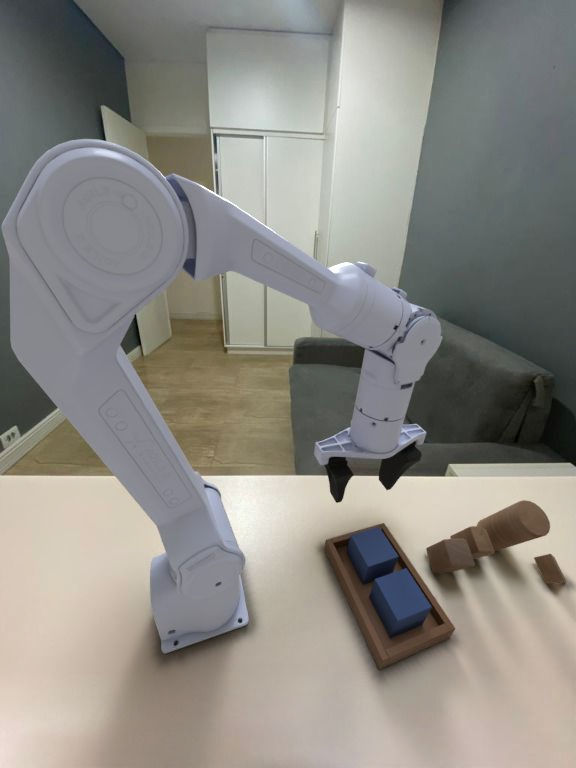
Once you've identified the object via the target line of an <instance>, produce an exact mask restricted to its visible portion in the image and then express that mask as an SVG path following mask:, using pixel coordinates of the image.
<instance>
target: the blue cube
mask: <svg viewBox="0 0 576 768" xmlns="http://www.w3.org/2000/svg"><path fill="white" fill-rule="evenodd" d="M369 598H370V600H371V602H372V604H373V606H374V608H375V610H376V612H377V614H378V616H379V618H380V620H381V622H382V624H383V626H384V627H385V629H386V631H387V633H388V635H389V637H390V638H392V637H395V636H397V635H399V634H402V633H404V632H407V631H409V630H411V629H414V628H416V627H418V626H421V625H423V623H424V621H425V619H426V617H427V615H428V613H429V611H430V609H431V608H432V607H431V605H430V604H429V602H428V600H427V599H426V597H425V596H424V594H423V593H422V591H421V590H420V588H419V587H418V585H417V584H416V582H415V581H414V579H413V578H412V576H411V574H410V573H409V571H408V570H407V568H405V569H402V570H399V571H397V572H394V573H391V574H388V575H385V576H382V577H379V578H377V579H375V580H374V583H373V586H372V589H371V592H370V595H369Z"/></svg>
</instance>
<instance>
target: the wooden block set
mask: <svg viewBox="0 0 576 768" xmlns="http://www.w3.org/2000/svg"><path fill="white" fill-rule="evenodd" d="M550 530H551V521H550V520H549V517H548V515H547V514H546V512H545V510H543V509H542V507H541V506H539V505H538V504H537V503H535V502H532V501H531V500H527V499H526V500H524V499H523V500H519V501H517V502H515V503H513V504H511V505H509V506H507V507H504V508H502V509H499V511H497V512H494V513H493V514H490V515H488V516H486V517H484V518H482V519H480V520H479V521H478V522H477V524H476V525H473V526H471V525H470V526H468V527H467V528H464V529H462V530H460V531H458V532H456V533H454V534H451V535H450V536H449V538H446V539H445V538H444V539H442V540H440V541H438V542H436V543H434V544H432V545H430V546H428V547H426V549H425V550H426V554H427V558H428V561H429V565H430V568H431V571H432V573H434V574H436V573H437V574H438V573H453V572H454V573H455V572H458V571H462V570H465V569H468V568H473V567H475V565H476V563H475V560H476V559H480V558H484V557H487V556H490V555H493V554H495V551H501V550H503V549H508V548H510V547H513V546H517V545H521V544H523V543H526V542H530V541H533V540H536V539H539V538H542V537H545V536H547V535H548V534H549V533H550ZM474 559H475V560H474ZM533 559H534V562H535V564H536V566H537V568H538V570H539V573H540V574H541V577H542V579H543V581H544V584H564V583H567V580H566V578H565V576H564V573H563V571H562V569H561V567H560V566H559V563H558V561H557V559H556V557H555V556H554V555H553V554H552V553H547V554H543V555H538V556H534V557H533Z"/></svg>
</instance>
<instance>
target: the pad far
mask: <svg viewBox="0 0 576 768" xmlns="http://www.w3.org/2000/svg"><path fill="white" fill-rule="evenodd" d="M347 555H348V557H349V559H350V561H351V563H352V565H353V567H354V568H355V570H356V572H357V574H358V576H359V578H360V580H361V582H362V584H363V585H364V584H366V583H369V582H372V581H374V580H375V579H377V578H379V577H382V576H385V575H388V574H391V573H393V571H394V568H395V565H396V563H397V560H398V557H399V556H398V555H397V553H396V552H395V550H394V549H393V547H392V546H391V544H390V543H389V541H388V539H387V538H386V536H385V535H384V533H383V532H382V530H381V529H380V527H376V528H373V529H369V530H366V531H363V532H359V533H356V534H352V535H351V536H350V540H349V544H348V548H347Z"/></svg>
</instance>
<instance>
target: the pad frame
mask: <svg viewBox="0 0 576 768" xmlns="http://www.w3.org/2000/svg"><path fill="white" fill-rule="evenodd" d="M376 527H380V529H381V530H382V532H383V533H384V535H385V536H386V538H387V539H388V541H389V543H390V544H391V546H392V547H393V549H394V550H395V552H396V553H397V555H398V556H399V557H398V560H397V563H396V565H395V568H394V571H393V573H394V572H397V571H399V570H402V569H405V568H407V570H408V571H409V573H410V574H411V576H412V578H413V579H414V581H415V582H416V584H417V585H418V587H419V588H420V590H421V591H422V593H423V594H424V596H425V597H426V599H427V600H428V602H429V604H430V605H431V607H432V608H431V609H430V611H429V613H428V615H427V617H426V619H425V621H424V623H423V625H421V626H418V627H416V628H414V629H411V630H409V631H407V632H404V633H402V634H399V635H397V636H395V637H392V638H390V637H389V635H388V633H387V631H386V629H385V627H384V626H383V624H382V622H381V620H380V618H379V616H378V614H377V612H376V610H375V608H374V606H373V604H372V602H371V600H370V598H369V595H370V592H371V589H372V586H373V583H374V581H372V582H369V583H366V584H364V585H363V584H362V582H361V580H360V578H359V576H358V574H357V572H356V570H355V568H354V567H353V565H352V563H351V561H350V559H349V557H348V555H347V548H348V544H349V540H350V536H351V535H352V534H356V533H359V532H363V531H366V530H369V529H373V528H376ZM323 548H324V551H325V554H326V555H327V558H328V560H329V563H330V565H331V567H332V569H333V571H334V574H335V575H336V578H337V580H338V582H339V584H340V587H341V589H342V591H343V593H344V596H345V598H346V600H347V602H348V604H349V606H350V609H351V611H352V614H353V616H354V618H355V620H356V622H357V624H358V626H359V629H360V631H361V633H362V635H363V637H364V640H365V642H366V644H367V647H368V649H369V651H370V653H371V655H372V657H373V659H374V662H375V664H376V666H377V669H378V670H381V669H383V668H385V667H388V666H390V665H392V664H394V663H397V662H398V661H399V662H400V661H401V660H403V659H405V658H408V657H410V656H412V655H414V654H417V653H419V652H422V651H424V650H425V649H427V648H429V647H432V646H434V645H436V644H438V643H441V642H443V641H445V640H447V639H450V638H451V636H453V633H454V632H455V630H456V626H455V625H454V624H453V623H452V621H451V619H450V618H449V616H448V615H447V613H446V612H445V611H444V609H443V608H442V606H441V605H440V603H439V602H438V600H437V599H436V598H435V596H434V595H433V593H432V591H431V590H430V589H429V587H428V586H427V584H426V583H425V581H424V579H423V578H422V576H421V575H420V574H419V573H418V571H417V569H416V568H415V566H414V565H413V564H412V562H411V561H410V559H409V557H408V555H406V553H405V552H404V550H403V548H402V547H401V546H400V544H399V543H398V541H397V540H396V538H395V537H394V535H393V534H392V532H391V531H390V529H389V528H388V527H387V525H386V523H385V522H382V523H379V524H378V523H377V524H376V525H371V526H368V527H365V528H361V529H358V530H354V531H350V532H348V533H344V534H341V535H337V536H335V537H334V536H333V537H330V538H326V539H325V543H324V547H323Z"/></svg>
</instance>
